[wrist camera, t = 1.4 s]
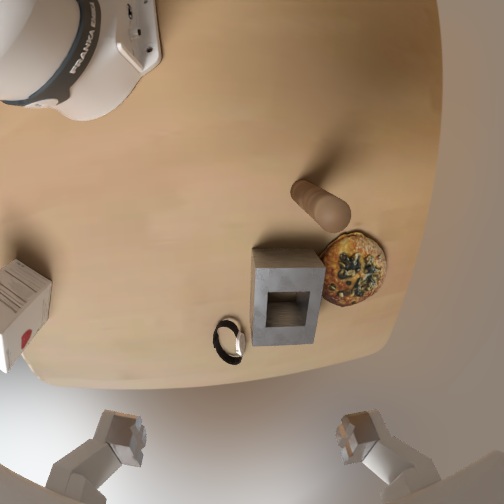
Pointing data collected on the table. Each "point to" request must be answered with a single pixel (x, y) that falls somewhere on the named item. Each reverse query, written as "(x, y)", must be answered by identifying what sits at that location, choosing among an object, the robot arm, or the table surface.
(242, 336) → the watch
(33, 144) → the table surface
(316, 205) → the peg
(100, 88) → the robot arm
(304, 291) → the socket block
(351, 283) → the bread roll
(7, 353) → the supplement box
